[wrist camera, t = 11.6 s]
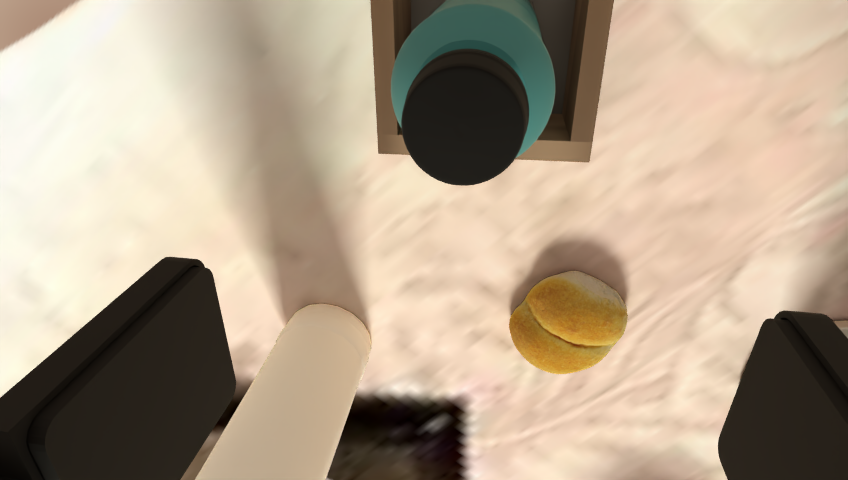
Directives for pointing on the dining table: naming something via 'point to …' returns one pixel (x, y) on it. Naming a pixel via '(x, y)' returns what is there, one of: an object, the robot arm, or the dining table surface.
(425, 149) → the beverage bottle
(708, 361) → the dining table surface
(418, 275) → the dining table surface
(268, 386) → the bottle
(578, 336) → the bread roll
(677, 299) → the dining table surface
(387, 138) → the u rest
